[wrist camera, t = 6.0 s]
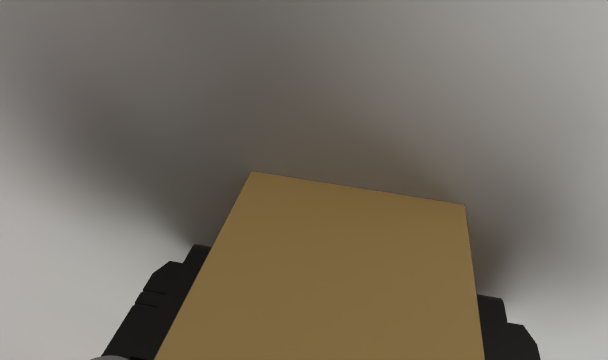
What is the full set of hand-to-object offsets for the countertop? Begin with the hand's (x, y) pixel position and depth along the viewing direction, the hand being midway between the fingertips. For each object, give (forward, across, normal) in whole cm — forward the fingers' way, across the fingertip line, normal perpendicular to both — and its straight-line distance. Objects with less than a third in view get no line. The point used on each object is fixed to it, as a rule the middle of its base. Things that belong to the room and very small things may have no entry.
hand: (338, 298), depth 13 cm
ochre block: (+1, 0, 0) cm, 1 cm away
